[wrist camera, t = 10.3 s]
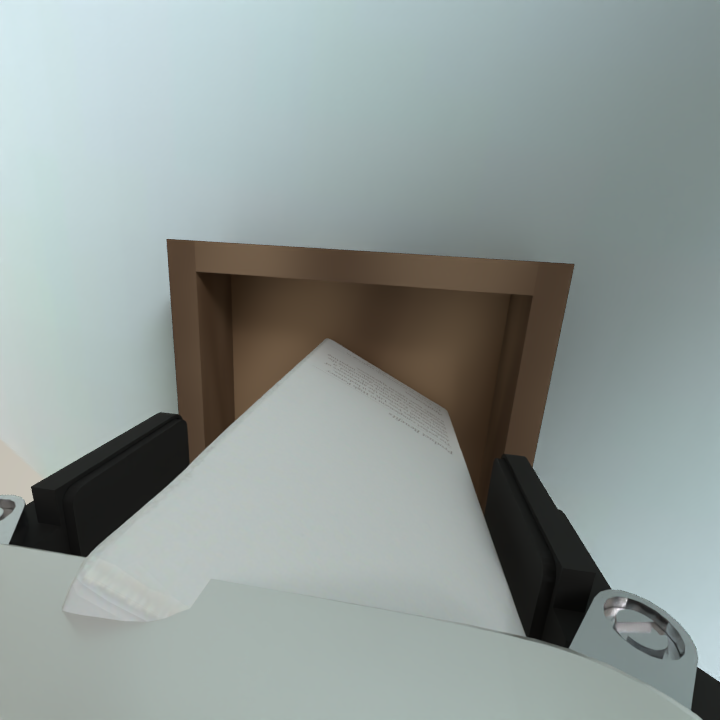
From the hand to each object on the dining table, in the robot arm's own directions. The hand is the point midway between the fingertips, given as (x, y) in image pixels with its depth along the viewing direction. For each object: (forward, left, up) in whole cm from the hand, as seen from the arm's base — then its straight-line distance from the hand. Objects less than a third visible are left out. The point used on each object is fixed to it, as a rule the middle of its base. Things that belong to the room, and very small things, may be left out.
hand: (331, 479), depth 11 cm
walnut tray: (0, 0, -6) cm, 6 cm away
